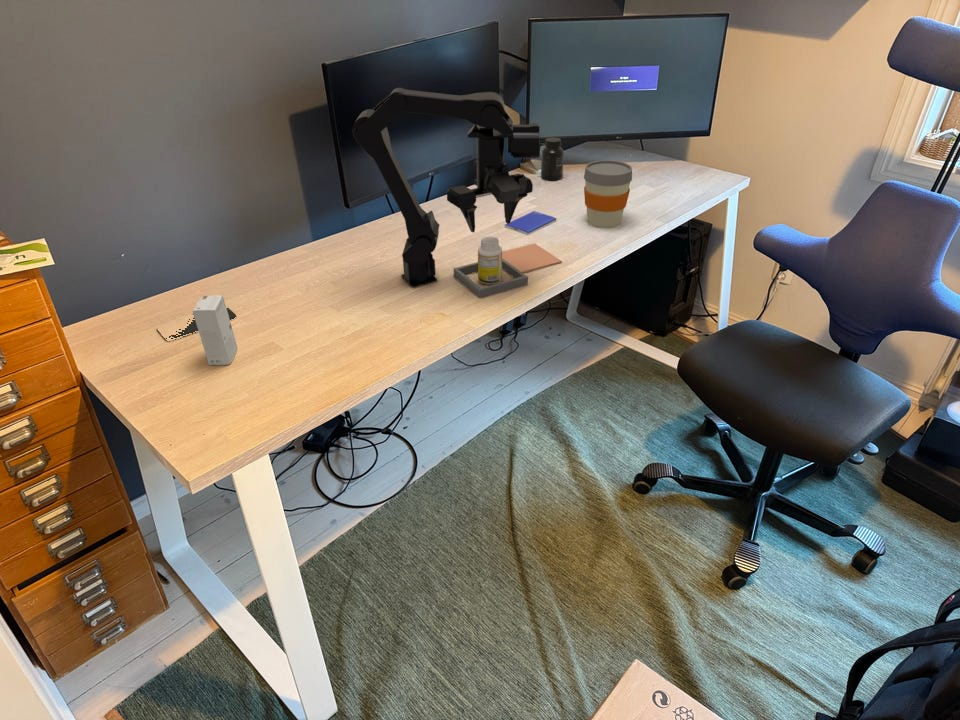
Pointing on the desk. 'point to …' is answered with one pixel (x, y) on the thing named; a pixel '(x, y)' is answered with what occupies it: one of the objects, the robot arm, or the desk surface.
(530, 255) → the pad
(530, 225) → the hard drive
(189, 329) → the dark flat slab
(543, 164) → the supplement bottle
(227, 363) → the skincare box
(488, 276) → the supplement bottle
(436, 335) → the desk surface
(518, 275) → the square frame
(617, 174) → the reusable coffee cup
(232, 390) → the desk surface
